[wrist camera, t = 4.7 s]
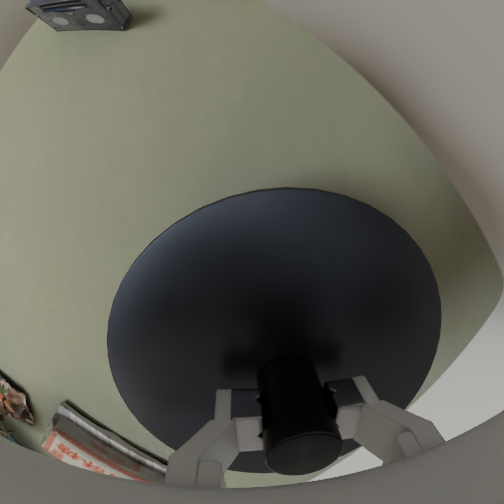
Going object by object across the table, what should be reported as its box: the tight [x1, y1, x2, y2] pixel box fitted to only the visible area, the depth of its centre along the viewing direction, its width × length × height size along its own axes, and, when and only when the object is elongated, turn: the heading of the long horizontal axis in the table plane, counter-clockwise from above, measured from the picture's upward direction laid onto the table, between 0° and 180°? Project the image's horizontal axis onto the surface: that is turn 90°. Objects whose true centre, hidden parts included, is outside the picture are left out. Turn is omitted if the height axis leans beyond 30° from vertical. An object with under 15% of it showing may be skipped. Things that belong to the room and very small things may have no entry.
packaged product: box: [41, 402, 167, 484], centre depth 24 cm, size 18×5×10 cm
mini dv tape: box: [25, 0, 132, 31], centre depth 13 cm, size 8×2×6 cm, turn 72°
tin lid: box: [107, 187, 441, 475], centre depth 9 cm, size 15×15×5 cm
